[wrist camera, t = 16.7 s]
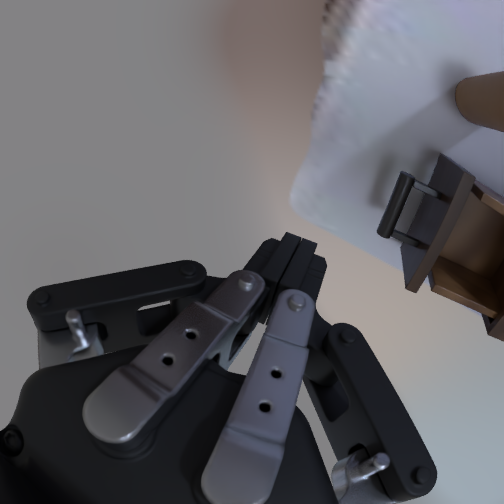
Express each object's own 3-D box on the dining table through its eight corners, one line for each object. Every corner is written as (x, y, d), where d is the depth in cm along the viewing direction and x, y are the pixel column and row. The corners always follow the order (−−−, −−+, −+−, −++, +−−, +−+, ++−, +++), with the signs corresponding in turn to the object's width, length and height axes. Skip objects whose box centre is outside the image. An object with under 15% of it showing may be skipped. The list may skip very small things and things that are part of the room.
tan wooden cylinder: (460, 69, 17) (511, 54, 7) (498, 92, 16) (561, 96, 6) (450, 111, 20) (499, 118, 10) (488, 133, 18) (548, 157, 9)
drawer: (366, 233, 29) (363, 272, 23) (403, 135, 22) (416, 147, 16) (485, 286, 25) (501, 330, 19) (528, 208, 19) (561, 239, 12)
